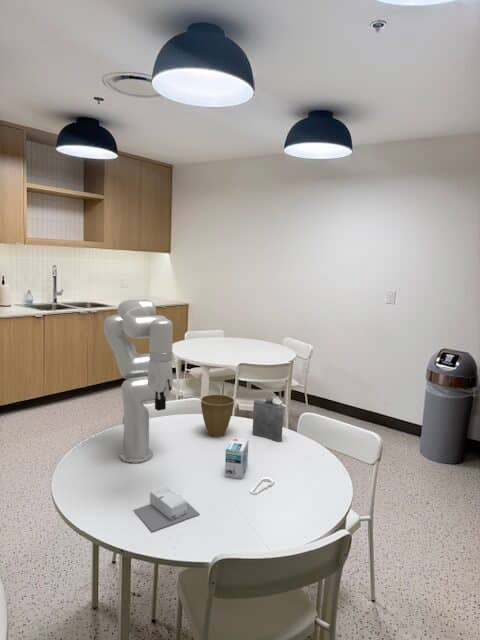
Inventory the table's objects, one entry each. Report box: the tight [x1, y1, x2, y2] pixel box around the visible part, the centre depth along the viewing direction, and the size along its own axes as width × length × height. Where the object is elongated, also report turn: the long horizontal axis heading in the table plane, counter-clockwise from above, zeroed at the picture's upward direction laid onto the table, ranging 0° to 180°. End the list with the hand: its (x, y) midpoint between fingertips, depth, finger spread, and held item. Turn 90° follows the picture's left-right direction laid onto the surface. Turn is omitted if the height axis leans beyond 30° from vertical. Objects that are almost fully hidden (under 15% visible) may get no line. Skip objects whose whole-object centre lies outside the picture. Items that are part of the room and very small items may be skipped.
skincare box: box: [149, 485, 188, 520], centre depth 140 cm, size 6×4×12 cm
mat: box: [133, 494, 200, 533], centre depth 139 cm, size 13×16×1 cm
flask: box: [251, 397, 284, 443], centre depth 198 cm, size 4×14×18 cm, turn 58°
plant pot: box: [200, 394, 235, 438], centre depth 199 cm, size 15×15×16 cm
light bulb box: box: [224, 437, 249, 480], centre depth 166 cm, size 11×7×11 cm, turn 168°
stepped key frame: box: [249, 476, 275, 496], centre depth 157 cm, size 13×5×2 cm, turn 154°
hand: (160, 409), depth 152 cm, fingers closed
